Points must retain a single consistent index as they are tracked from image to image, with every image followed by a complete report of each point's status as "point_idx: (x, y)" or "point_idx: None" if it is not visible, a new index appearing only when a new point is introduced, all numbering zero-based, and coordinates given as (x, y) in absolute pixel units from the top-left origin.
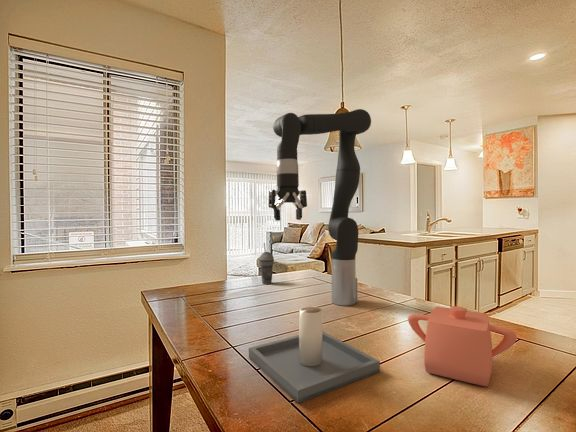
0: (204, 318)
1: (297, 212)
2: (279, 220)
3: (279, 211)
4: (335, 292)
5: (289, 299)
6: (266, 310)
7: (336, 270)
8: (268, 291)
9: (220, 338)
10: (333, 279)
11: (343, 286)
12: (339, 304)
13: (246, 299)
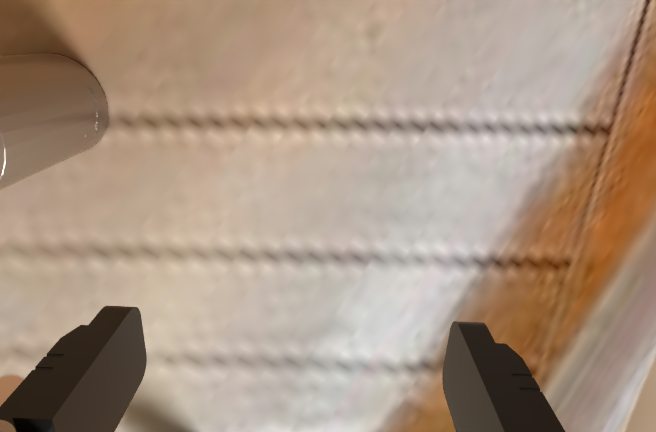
0: (574, 241)
1: (94, 422)
2: (457, 324)
3: (509, 410)
4: (80, 108)
5: (229, 255)
6: (370, 197)
7: (8, 121)
8: (244, 372)
9: (644, 46)
10: (49, 134)
11: (35, 74)
12: (96, 82)
13: (360, 335)
